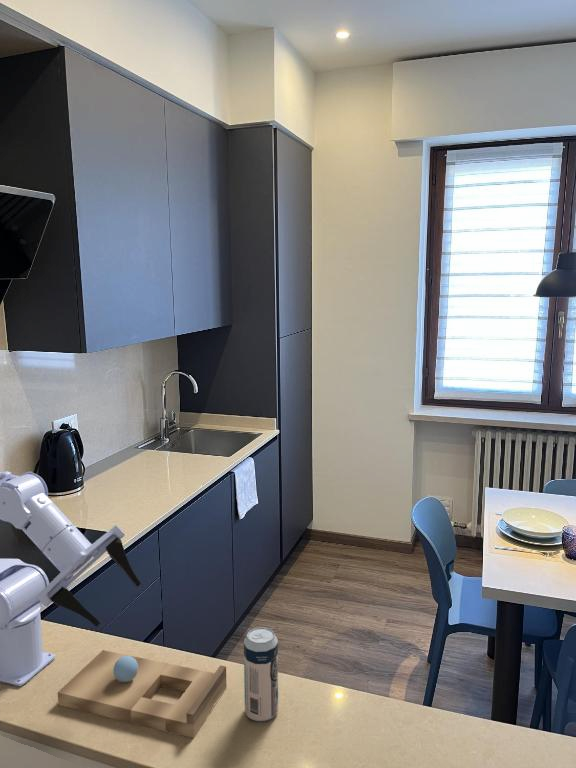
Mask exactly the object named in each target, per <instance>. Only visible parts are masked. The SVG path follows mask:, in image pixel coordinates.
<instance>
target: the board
mask: <svg viewBox="0 0 576 768" xmlns="http://www.w3.org/2000/svg"><path fill="white" fill-rule="evenodd" d="M123 656H131V657H133V658H134V659H135V660H136V661H137V663H138V672H137V674H136V676H135V677H134V678H133V679H132V680H131V681H129V682H120V681H118V680H117V679H116V678H115V676H114V672H113V669H114V665H115V663H116V662H117V660H118V659H120V658H121V657H123ZM227 684H228V683H227V666H226V665H221V664H220V665H219V666H218V667H217V669H216V671H214V672H210V671H207V670H201V669H197V668H191V667H187V666H182V665H176V664H172V663H167V662H163V661H158V660H153V659H149V658H148V659H147V658H143V657H139V656H138V657H137V656H133V655H129V654H123V653H119V652H114V651H110V650H104V649H102V650H101V651H100V652H99V653H98V654H97V655H96V656H95V657H94V658H93V659H92V660H91V661H89V662H88V664H86V665H85V666H84V667H83V668H82V669H81V670H80V671H79V672H78V673H77V674H75V675H74V677H73V678H71V679H70V680H69V681H68V682H67V683H66V684H65V685H64V686H63V687H62V688H61V689H59V690H58V691H57V703H58V704H57V705H58V706H61V707H66V708H68V709H69V708H70V709H74V710H78V711H82V712H86V713H88V714H89V713H90V714H94V715H99V716H102V717H107V718H110V719H114V720H118V721H123V722H127V723H129V724H130V723H131V724H136V725H139V726H143V727H146V728H149V729H150V728H151V729H154V730H159V731H161V732H166V733H171V734H175V735H180V736H184V737H187V738H190V739H191V738H192V739H195V737H196V736H197V734H198V733H199V731H200V730H201V728H202V727H203V724H204V723H205V722H206V720H207V719H208V717H209V716H208V714H209V713H210V714H211V712H212V711H213V709H214V708H215V706H214V704H215V703H216V702H217V700H218V699H219V697H220V696H221V697H222V695H223V694H224V692H225V691H226V689H227V688H226V687H228V686H227ZM165 687H166V688H165ZM161 688H165V689H170V688H171V689H172V690H175V689H176V690H175V691H179V690H181V691H180V692H183V693H182V695H181V696H180V698H179V699H178V700H177V701H176V702H175V704H173V703H168V702H165V701H160V700H156V699H153V697H154V696H155V695H156V694H157V692H158V691H159V690H160V689H161ZM225 688H226V689H225ZM224 690H225V691H224ZM184 691H185V692H184ZM222 693H223V694H222ZM221 697H220V698H221ZM219 700H220V699H219ZM219 700H218V701H219ZM217 703H218V702H217ZM217 703H216V704H217ZM213 707H214V708H213ZM212 708H213V709H212ZM211 710H212V711H211ZM210 714H209V715H210ZM207 716H208V717H207ZM206 718H207V719H206Z"/></svg>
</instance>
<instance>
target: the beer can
mask: <svg viewBox="0 0 576 768" xmlns="http://www.w3.org/2000/svg"><path fill="white" fill-rule="evenodd" d="M278 643H279V640H278V638H277V636H276V634H275V632H274V631H273V629H271V628H268V627H265V626H263V627H254V628H253V629H250V630H249V631H248V633H246V637H245V638H244V640H243V666H244V667H243V668H244V669H243V671H244V672H243V676H244V678H243V679H244V680H243V683H244V685H243V686H244V712H245V715H246V716H247V717H248V718H249V719H251V720H253V721H255V722H264V721H269V720H271V719H273V718H274V717H276V715H277V713H278V711H279V657H278V656H279V654H278V653H279V644H278Z"/></svg>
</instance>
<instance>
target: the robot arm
mask: <svg viewBox="0 0 576 768" xmlns="http://www.w3.org/2000/svg"><path fill="white" fill-rule="evenodd" d="M48 496H49V489H48V486H47V484H46V482H45V480H44V479H43V478H42V477H41V476H40V475H38V474H37V473H34V472H33V471H26V472H24V473H22V474H20V475H14V474H12V472H11V471H7V470H6V471H3V472H2V471H0V520H1V521H2V522H6V523H7V522H8V523H10V524H11V525H13V527H14V528H15V529H18V530H22V531H23V532H24V534H25V535H27V537H28V538H29V539H30V540H31V542H33V544H35V546H36V547H37V548H38V549H39V550H40V551H41V552H42V554H43V555H44V556H45V557H46V558H47V559H48V560H49V561H50V562H51V563H52V565H53V566H54V567H55V568H56V569H57V570H58V571H59V572H60V573H58V574H57V575H56V576H55V578H53V580H51V581H49V578H48V576H47V574H46V573H45V571H44V570H43V569H42V568H41V567H40V566H38V565H35V564H30V563H26V562H24V561H22V560H21V559H19V558H0V682H2V683H6V684H9V685H14V686H18V687H21V686H23V685H25V684H26V683H27V682H28V681H30V680H31V679H32V678H33V677H34V676H36V674H38V673H39V672H40V671H41V670H42V669H44V668H45V667H46V666H48V664H49V663H51V662H52V661H53V660H54V659H55V658H56V654H55V653H50V652H45V651H43V650H44V649H43V635H42V623H41V622H42V619H41V609H42V608H43V607H44V606H45V607H46V608H48V606H49V605H50V604H51V603H52V604H54V605H56V606H59V607H62V608H64V609H66V610H69V611H72V612H74V613H76V614H77V615H79V616H81V617H83V618H84V619H86V620H88V621H89V622H90V623H92V624H93V626H94V627H95V628H98V627H99V626H100V625H102V624H101V622H100V621H99V620H98V619H97V618H96V617H95V616H94V615H93V614H92V613H90V612H89V610H87V608H85V607H84V605H82V603H81V602H80V601H79V600H78V599H77V598H76V596H75V595H73V593H72V592H71V591H70V590H69V589H68V587H69V586H70V585H71V584H73V583H74V582H75V581H76V580H77V579H78V578H79V577H80V576H81V575H83V574H84V572H86V571H87V570H88V569H89V568H90V567H91V566H92V565H93V564H94V563H95V562H96V561H98V560H99V559H100V558H101V557H102V556H103V555H104V554H106V553H107V555H109V558H111V560H113V562H114V563H115V564H116V565H117V566H118V567H119V568H120V569H121V570H122V571H123V572H124V573H125V575H126V576H127V577H128V578H129V580H130V581H131V583H132V584H134V586H136V587H137V588H139V587H140V586H141V585H142V582H141V580H140V579H139V578H138V576H137V575H136V573H135V572H134V570H133V567H132V565H131V564H130V562H129V559H128V556H127V554H126V551H125V548H124V545H123V542H122V539H123V538H124V537H125V532H124V531H123V530H122V529H121V528H120V527H119V526H118V525H117V524H116V525H114V526H112V527H111V528H110V529H109V530H108V531H106V533H104V534H103V535H102V536H100V537H99V538H98V539H96V540H95V542H93V543H91V542H90V541H89V540H88V538H86V536H85V535H84V534H83V533H82V532H81V531H80V530H79V529H78V528H77V527H76V526H75V525H74V524H73V523H72V521H70V519H69V518H68V517H67V516H66V515H65V514H64V513H63V512H62V511H61V510H60V508H59V507H58V506H57V505H56V504H55V503H54V502H53V501H52V500H51V498H50V497H48Z"/></svg>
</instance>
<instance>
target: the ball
mask: <svg viewBox="0 0 576 768" xmlns="http://www.w3.org/2000/svg"><path fill="white" fill-rule="evenodd" d="M131 656H132V655H129V656H123V657H121V658H120V659H118V660H117V662H116V663H115V665H114V669H113V672H114V676H115V678H116V679H117V680H118V681H120V682H129V681H131V680H132V679H133V678H134V677H135V676H136V674H137V672H138V663H137V661H136V660H135V659H134V658H133V657H131Z"/></svg>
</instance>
